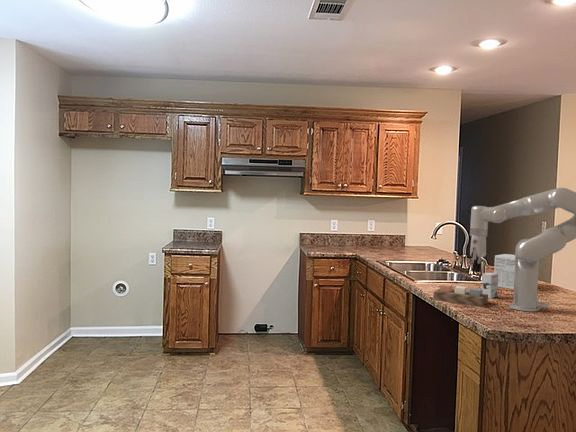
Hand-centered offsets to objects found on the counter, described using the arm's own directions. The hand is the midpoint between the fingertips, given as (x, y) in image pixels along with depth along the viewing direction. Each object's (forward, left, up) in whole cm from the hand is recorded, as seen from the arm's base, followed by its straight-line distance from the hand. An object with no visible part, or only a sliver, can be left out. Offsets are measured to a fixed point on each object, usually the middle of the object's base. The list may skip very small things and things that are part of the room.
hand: (476, 271), depth 226 cm
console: (+7, 0, -15) cm, 16 cm away
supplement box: (-3, -58, -15) cm, 60 cm away
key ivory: (+7, 0, -12) cm, 14 cm away
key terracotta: (+14, 0, -12) cm, 18 cm away
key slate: (0, 0, -12) cm, 12 cm away
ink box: (-1, -21, -15) cm, 26 cm away
